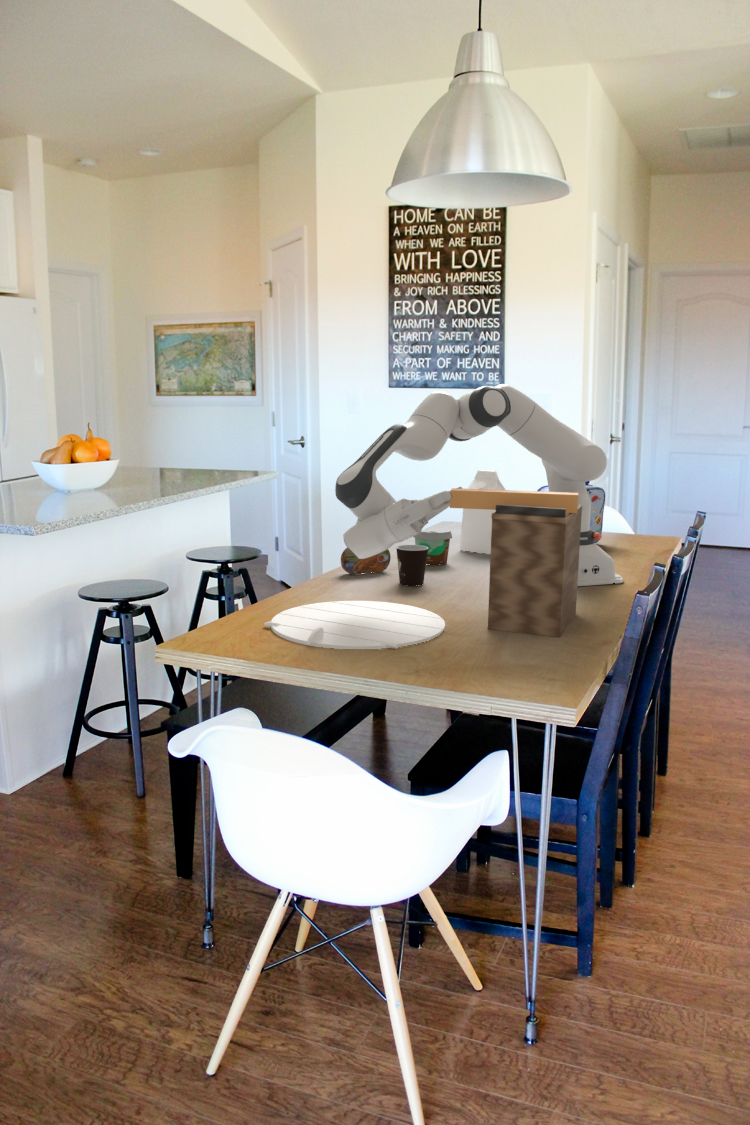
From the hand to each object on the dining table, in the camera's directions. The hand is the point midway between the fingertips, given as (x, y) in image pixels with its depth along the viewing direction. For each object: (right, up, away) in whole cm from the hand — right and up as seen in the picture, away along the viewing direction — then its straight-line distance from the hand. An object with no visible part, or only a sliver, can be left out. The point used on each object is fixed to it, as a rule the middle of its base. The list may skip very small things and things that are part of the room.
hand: (456, 491), depth 207 cm
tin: (-21, -19, +55) cm, 62 cm away
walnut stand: (+18, -29, +5) cm, 35 cm away
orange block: (+12, -4, -2) cm, 13 cm away
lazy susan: (-22, -31, -1) cm, 38 cm away
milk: (+17, -12, +93) cm, 95 cm away
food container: (-2, -17, +69) cm, 71 cm away
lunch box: (+47, -10, +103) cm, 114 cm away
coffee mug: (-8, -22, +43) cm, 49 cm away
